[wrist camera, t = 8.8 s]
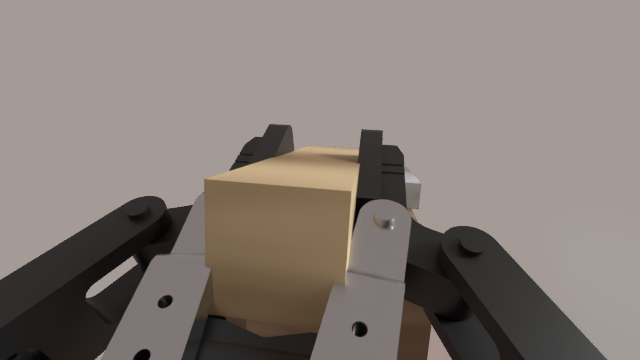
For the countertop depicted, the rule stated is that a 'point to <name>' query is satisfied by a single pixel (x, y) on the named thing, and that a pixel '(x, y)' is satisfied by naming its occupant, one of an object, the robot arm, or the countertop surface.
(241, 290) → the rectangular straight-edged part
